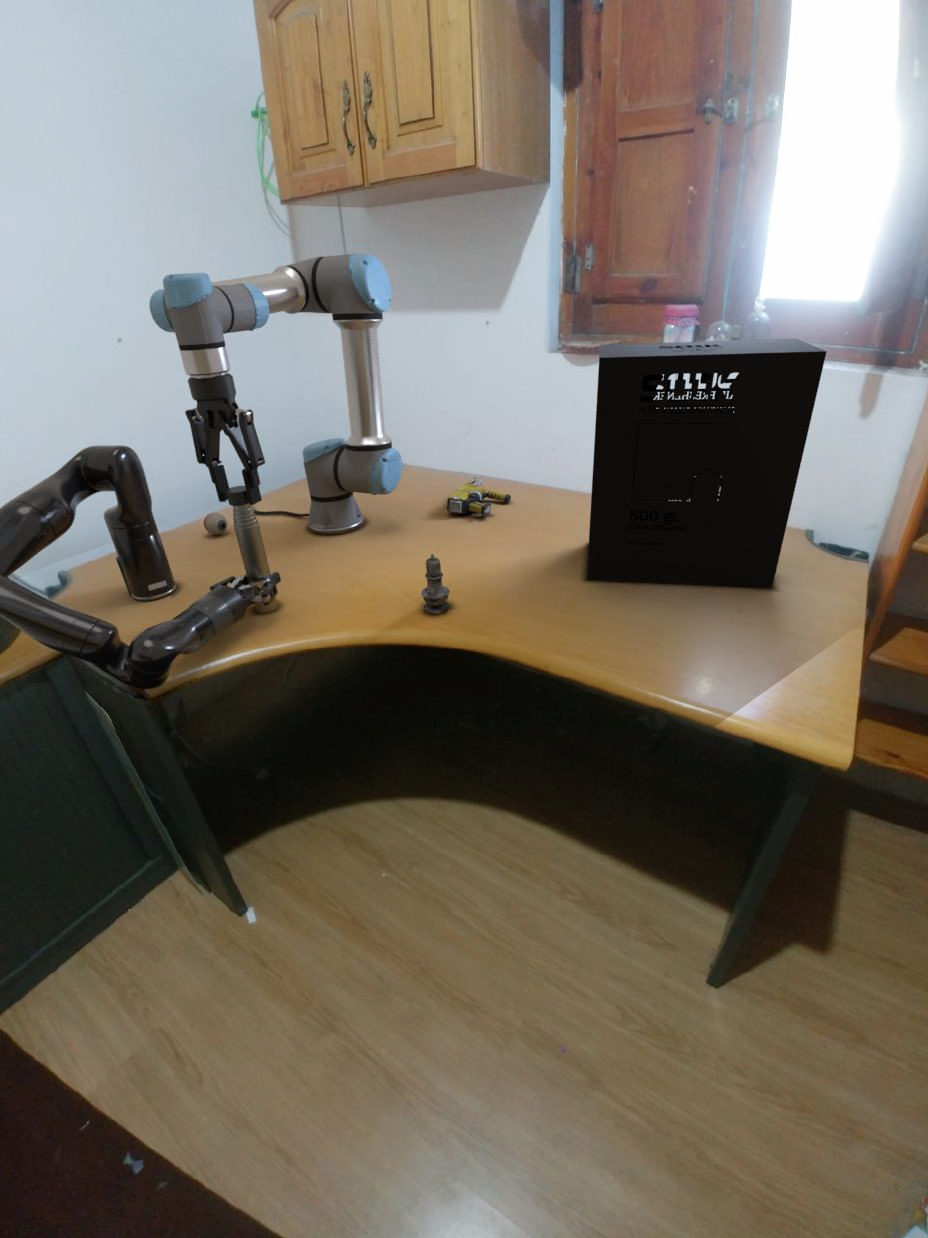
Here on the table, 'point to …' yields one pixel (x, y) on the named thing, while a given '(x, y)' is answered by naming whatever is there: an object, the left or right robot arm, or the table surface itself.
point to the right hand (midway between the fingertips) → (240, 500)
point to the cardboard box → (698, 459)
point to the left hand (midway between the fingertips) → (267, 574)
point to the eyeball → (215, 523)
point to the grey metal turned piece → (435, 588)
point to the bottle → (252, 550)
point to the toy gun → (473, 499)
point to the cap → (237, 496)
